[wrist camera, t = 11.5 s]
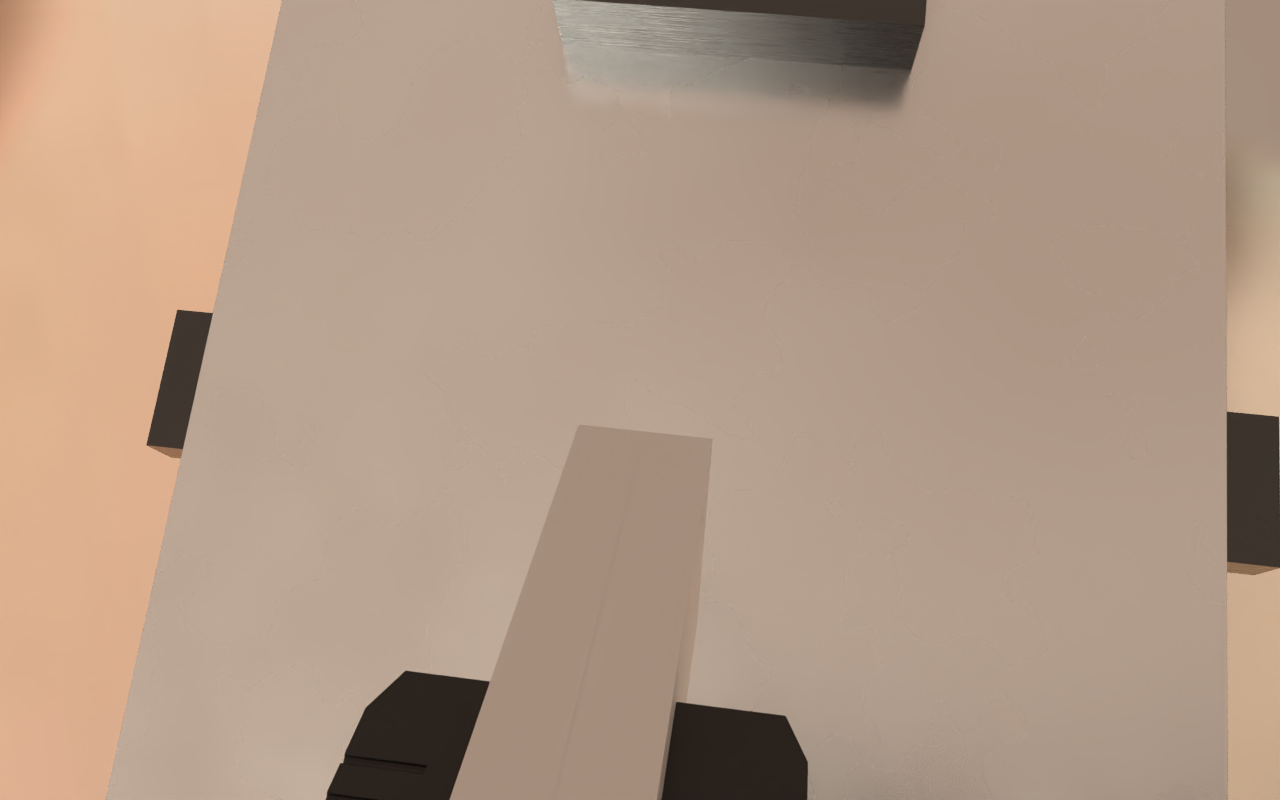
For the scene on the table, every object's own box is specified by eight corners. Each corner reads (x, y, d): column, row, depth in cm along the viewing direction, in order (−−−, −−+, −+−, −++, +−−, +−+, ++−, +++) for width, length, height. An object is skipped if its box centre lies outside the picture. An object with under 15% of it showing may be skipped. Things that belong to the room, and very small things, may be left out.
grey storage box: (1107, 906, 31) (1310, 1002, 20) (253, 792, 33) (35, 826, 22) (1121, 254, 36) (1293, 55, 25) (369, 189, 38) (232, -20, 27)
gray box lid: (1199, 1073, 20) (1273, 1128, 17) (111, 916, 22) (26, 943, 19) (1202, 1, 25) (1260, -85, 22) (320, -58, 27) (276, -146, 24)
